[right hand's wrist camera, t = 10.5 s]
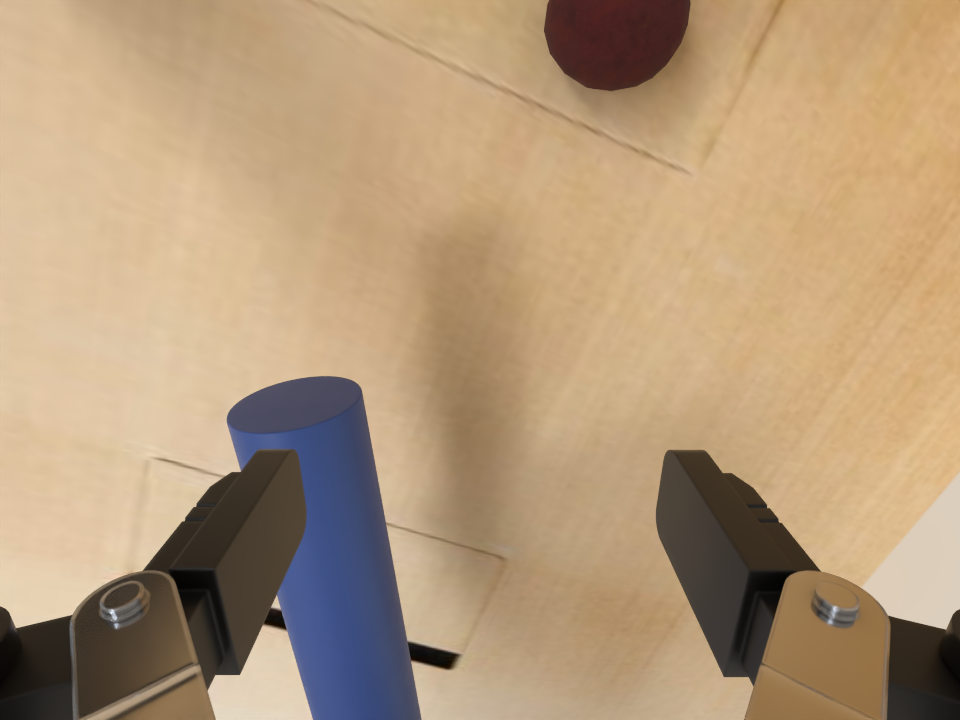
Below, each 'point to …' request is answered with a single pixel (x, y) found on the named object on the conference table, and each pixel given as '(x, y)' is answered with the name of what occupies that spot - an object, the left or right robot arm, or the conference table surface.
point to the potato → (614, 39)
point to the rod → (335, 551)
